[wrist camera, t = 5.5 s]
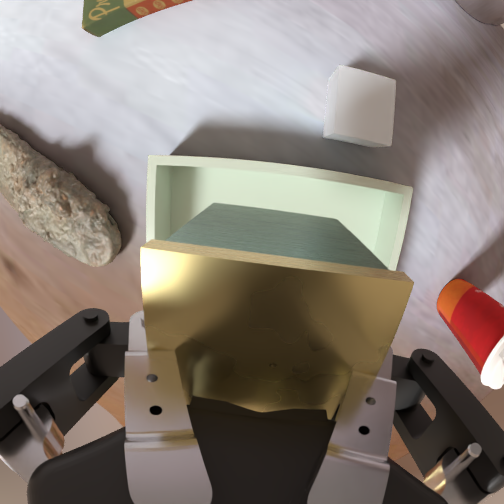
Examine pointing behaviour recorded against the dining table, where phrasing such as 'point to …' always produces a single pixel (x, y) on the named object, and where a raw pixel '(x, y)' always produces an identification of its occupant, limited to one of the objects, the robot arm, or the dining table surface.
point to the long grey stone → (56, 204)
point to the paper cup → (476, 327)
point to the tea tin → (269, 307)
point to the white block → (360, 107)
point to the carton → (119, 13)
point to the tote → (277, 197)
